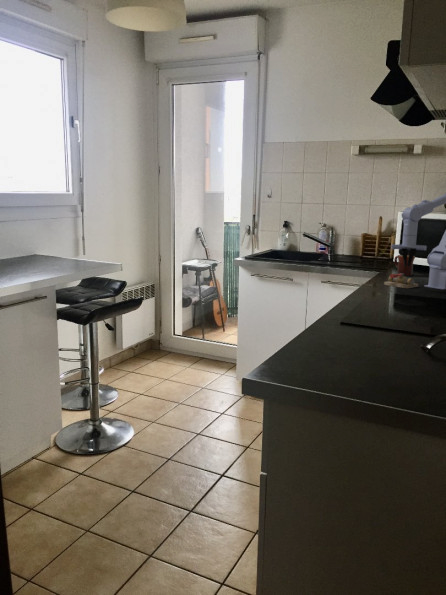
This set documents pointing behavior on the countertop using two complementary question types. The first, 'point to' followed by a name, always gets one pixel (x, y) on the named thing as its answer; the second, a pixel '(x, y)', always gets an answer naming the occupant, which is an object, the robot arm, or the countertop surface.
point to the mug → (401, 268)
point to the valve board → (401, 282)
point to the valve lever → (396, 275)
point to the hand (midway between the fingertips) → (407, 265)
